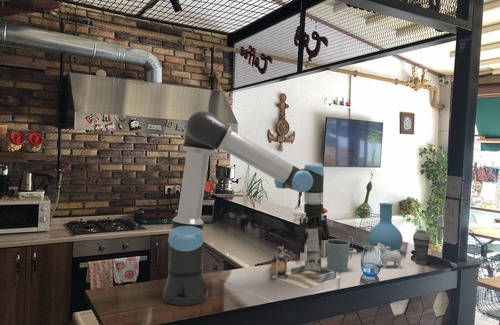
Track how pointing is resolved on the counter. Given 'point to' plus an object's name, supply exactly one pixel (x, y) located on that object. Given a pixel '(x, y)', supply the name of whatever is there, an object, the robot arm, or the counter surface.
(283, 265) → the bobbin
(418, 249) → the beverage cup
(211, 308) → the counter surface
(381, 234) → the vase
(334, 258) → the green mug
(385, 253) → the white animal figurine
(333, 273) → the notched board
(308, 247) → the coffee box
